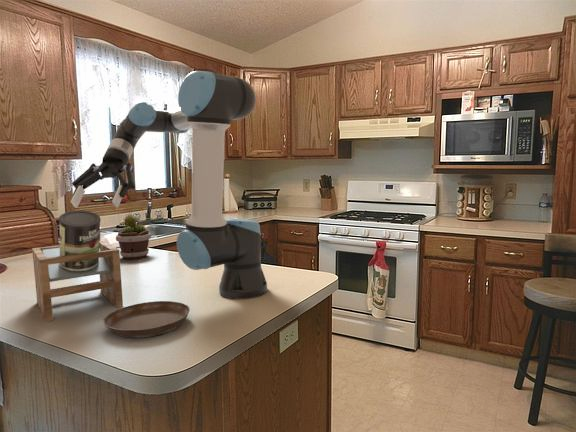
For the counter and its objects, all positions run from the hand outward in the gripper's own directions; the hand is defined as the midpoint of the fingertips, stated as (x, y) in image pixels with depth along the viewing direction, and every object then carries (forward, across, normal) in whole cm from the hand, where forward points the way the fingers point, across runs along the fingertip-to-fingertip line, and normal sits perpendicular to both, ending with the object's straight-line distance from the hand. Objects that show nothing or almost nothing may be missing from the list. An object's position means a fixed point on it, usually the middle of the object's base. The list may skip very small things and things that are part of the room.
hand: (94, 204), depth 127 cm
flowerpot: (-18, +18, -59) cm, 64 cm away
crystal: (-36, +40, -77) cm, 94 cm away
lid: (+16, +3, -6) cm, 18 cm away
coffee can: (+17, 0, -6) cm, 18 cm away
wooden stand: (+26, +2, -15) cm, 30 cm away
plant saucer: (+35, -26, -6) cm, 44 cm away
